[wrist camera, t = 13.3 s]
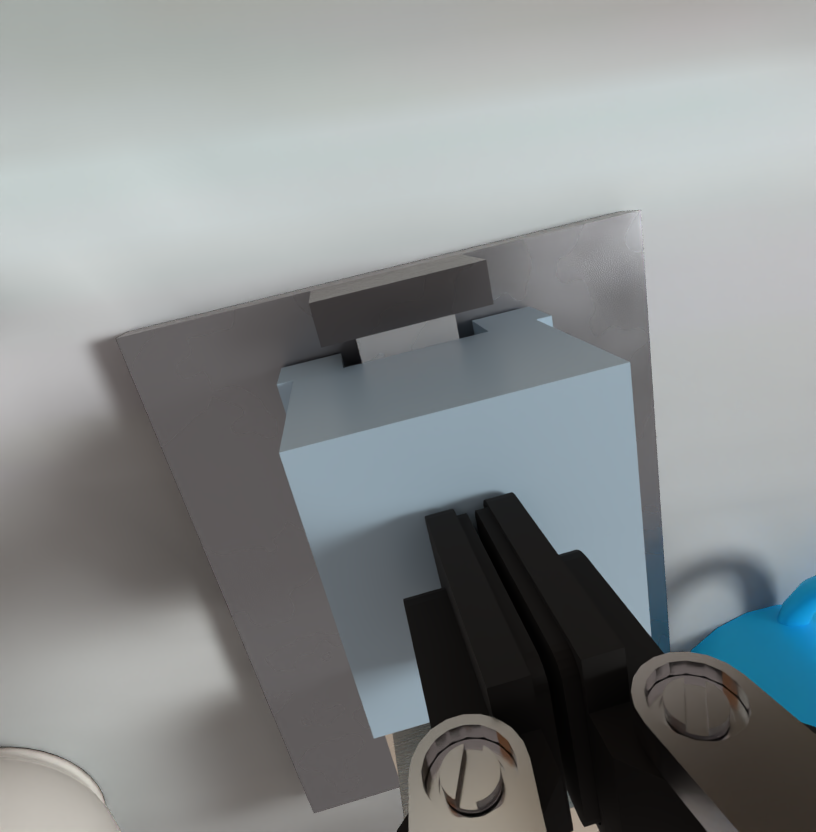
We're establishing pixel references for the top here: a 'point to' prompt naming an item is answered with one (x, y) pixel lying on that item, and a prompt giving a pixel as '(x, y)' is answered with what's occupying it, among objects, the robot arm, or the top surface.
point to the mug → (775, 650)
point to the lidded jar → (49, 795)
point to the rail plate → (267, 482)
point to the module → (456, 475)
